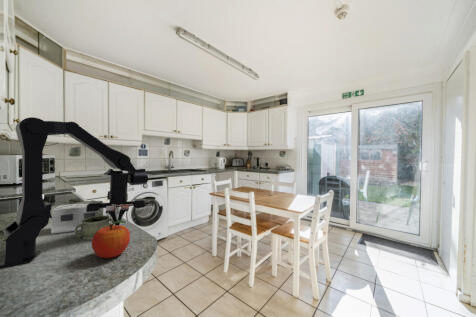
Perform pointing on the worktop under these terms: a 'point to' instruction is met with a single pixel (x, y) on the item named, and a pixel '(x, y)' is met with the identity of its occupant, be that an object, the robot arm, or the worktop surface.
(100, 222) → the vessel
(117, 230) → the fruit
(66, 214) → the housing
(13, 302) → the worktop surface
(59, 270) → the worktop surface
